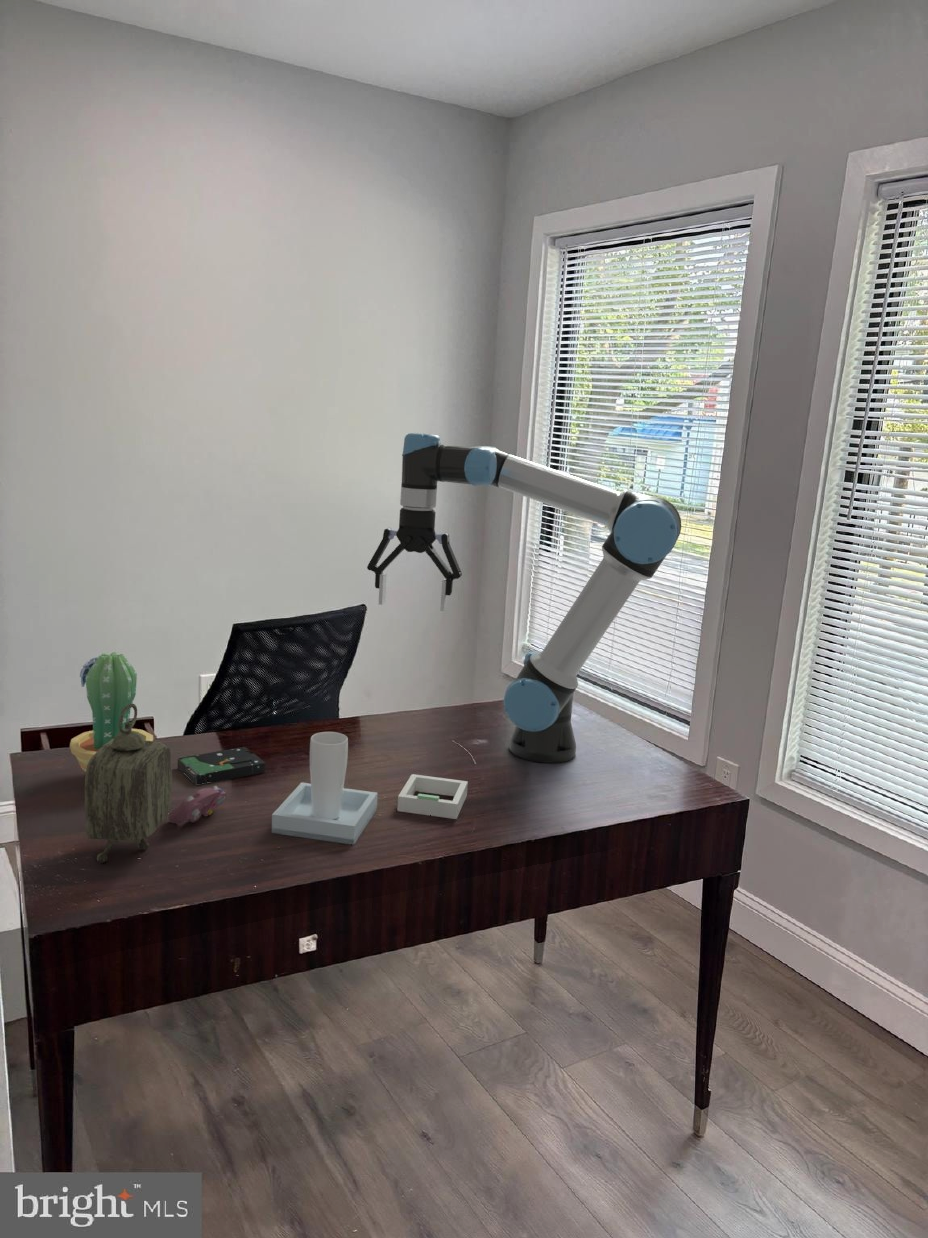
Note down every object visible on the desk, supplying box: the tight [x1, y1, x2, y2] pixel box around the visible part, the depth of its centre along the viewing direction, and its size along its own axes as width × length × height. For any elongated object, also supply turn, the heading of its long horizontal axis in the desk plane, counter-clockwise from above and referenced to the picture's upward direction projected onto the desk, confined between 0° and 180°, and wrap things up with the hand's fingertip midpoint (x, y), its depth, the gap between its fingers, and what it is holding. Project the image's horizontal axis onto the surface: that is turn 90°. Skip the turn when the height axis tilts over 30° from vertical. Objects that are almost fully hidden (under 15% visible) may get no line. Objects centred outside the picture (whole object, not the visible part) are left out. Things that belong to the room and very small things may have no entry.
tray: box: [271, 782, 379, 846], centre depth 168 cm, size 15×15×4 cm
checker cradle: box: [396, 773, 469, 820], centre depth 179 cm, size 11×11×4 cm
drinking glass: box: [309, 731, 349, 820], centre depth 167 cm, size 7×7×15 cm
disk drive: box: [177, 746, 266, 785], centre depth 188 cm, size 10×3×15 cm
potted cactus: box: [69, 652, 154, 774], centre depth 177 cm, size 15×15×25 cm
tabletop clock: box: [84, 702, 172, 864], centre depth 151 cm, size 14×9×25 cm, turn 178°
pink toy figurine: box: [168, 785, 228, 825], centre depth 166 cm, size 10×5×7 cm, turn 150°
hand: (412, 606), depth 199 cm, fingers open, 13 cm apart
